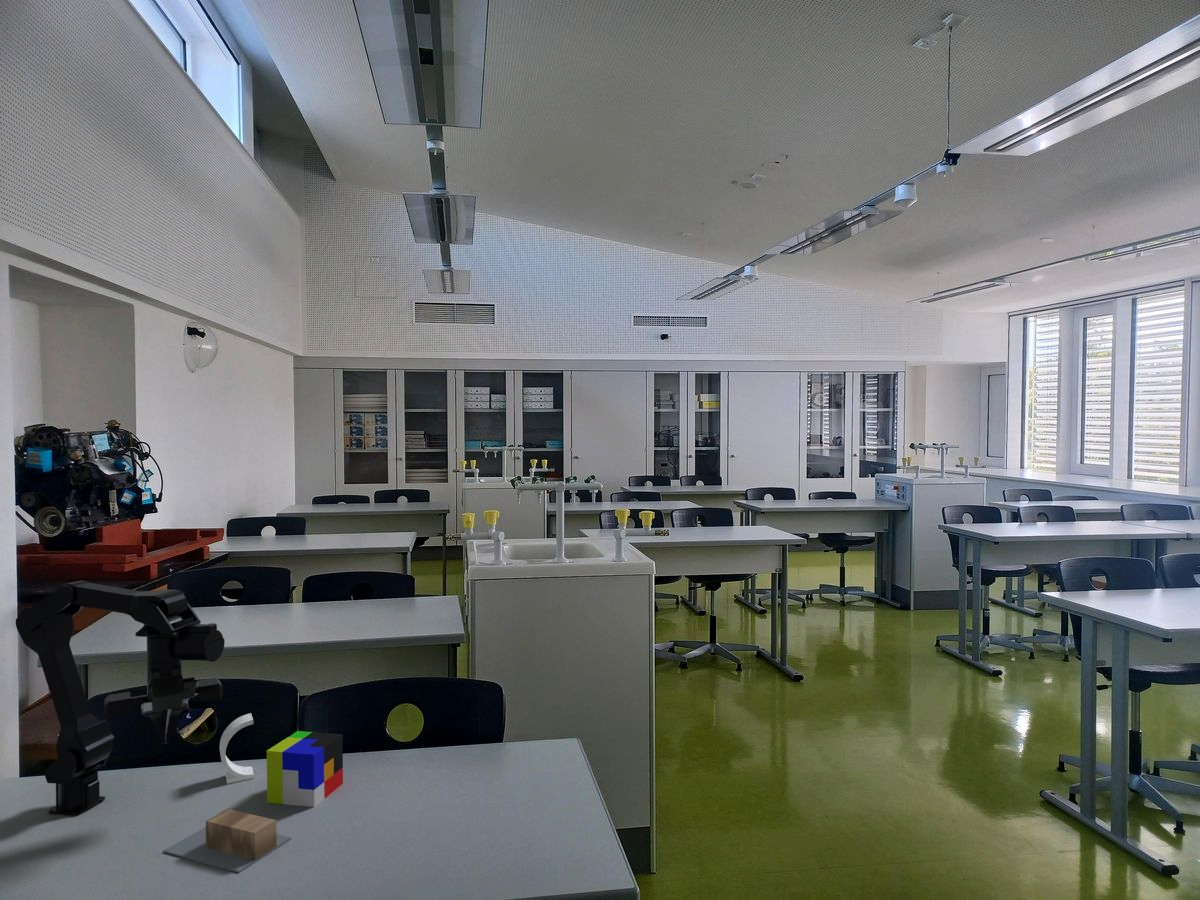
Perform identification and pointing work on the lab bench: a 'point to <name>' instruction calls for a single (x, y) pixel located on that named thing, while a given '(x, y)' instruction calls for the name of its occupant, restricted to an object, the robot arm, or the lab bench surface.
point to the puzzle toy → (304, 768)
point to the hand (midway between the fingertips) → (165, 743)
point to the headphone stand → (232, 770)
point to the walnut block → (241, 834)
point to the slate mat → (214, 852)
